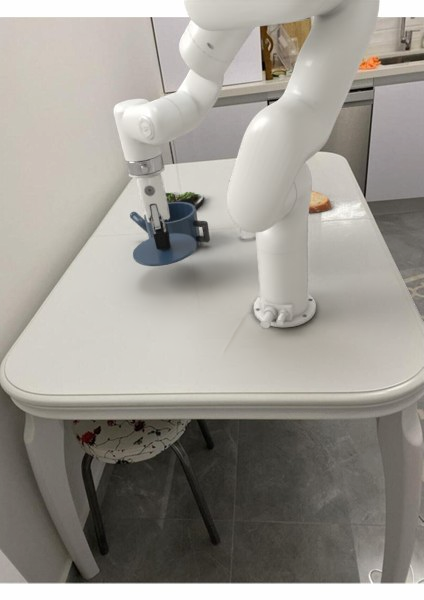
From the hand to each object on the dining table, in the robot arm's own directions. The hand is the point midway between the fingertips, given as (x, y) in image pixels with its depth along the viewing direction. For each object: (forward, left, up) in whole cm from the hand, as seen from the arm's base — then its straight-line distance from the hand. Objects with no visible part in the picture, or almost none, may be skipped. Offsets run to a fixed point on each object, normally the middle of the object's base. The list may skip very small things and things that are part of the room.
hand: (163, 243), depth 100 cm
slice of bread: (+48, -20, -10) cm, 53 cm away
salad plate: (+41, +18, -10) cm, 46 cm away
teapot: (+16, +6, -10) cm, 20 cm away
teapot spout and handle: (+16, +8, -8) cm, 19 cm away
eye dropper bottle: (+24, -13, -10) cm, 29 cm away
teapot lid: (0, 0, -2) cm, 2 cm away
